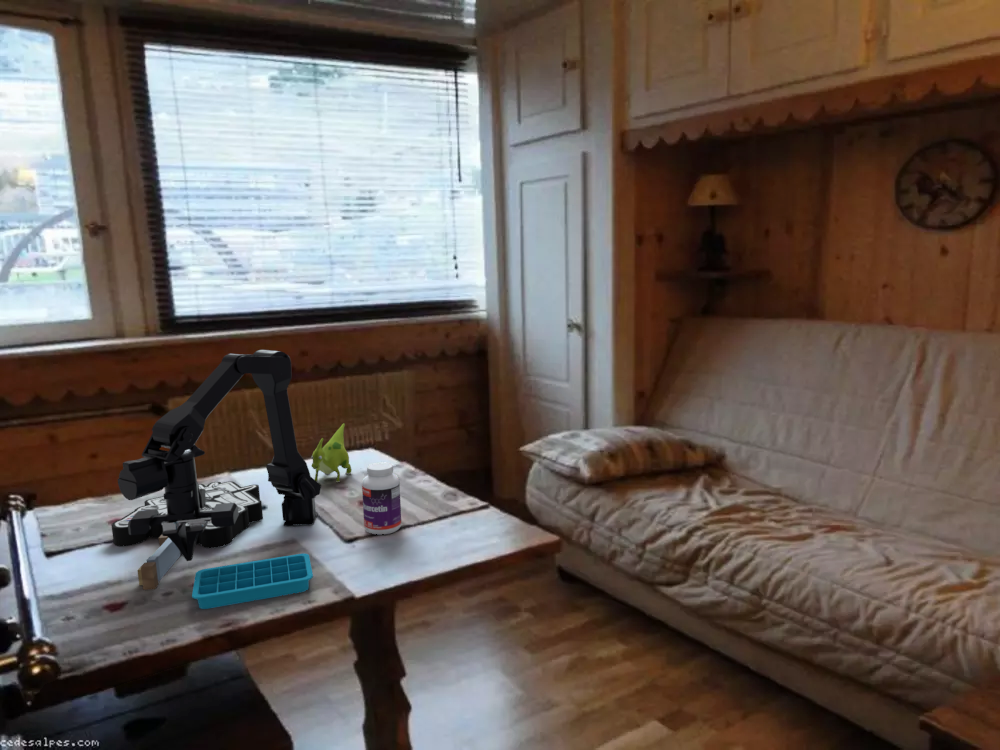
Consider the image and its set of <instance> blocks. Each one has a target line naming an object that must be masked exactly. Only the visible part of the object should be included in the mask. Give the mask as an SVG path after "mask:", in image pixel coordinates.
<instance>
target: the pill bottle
mask: <svg viewBox="0 0 1000 750" xmlns="http://www.w3.org/2000/svg"><path fill="white" fill-rule="evenodd" d="M366 472H367V474H366V475H365V477H363V479H362V481H361V489H362V490H361V491H362V492H361V493H362V507H363V508H362V511H363V527H364V529H365V531H366V532H367V533H369V534H371V533H372V534H371V535H376V534H377V536H378V535H379V536H381V535H382V534H384V535H389V534H392V533H395V532H397V531H398V530H399V529H401V526H402V507H401V505H402V504H401V487H400V486H401V485H400V484H401V483H400V478H399V477H398V475H397V474H396V473H393V472H394V464H393V463H392V462H385V461H381V462H373V463H370V464H368V465H367V467H366ZM382 536H383V535H382Z"/></svg>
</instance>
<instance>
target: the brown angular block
mask: <svg viewBox="0 0 1000 750" xmlns="http://www.w3.org/2000/svg"><path fill="white" fill-rule="evenodd" d="M168 538H169V537H168V536H162V535H161V536H160V537H159V538H158V544H159V545H158V546H159V547H160V546H161V545H162V544H163V543H164V542H165V541H166V540H167V539H168Z"/></svg>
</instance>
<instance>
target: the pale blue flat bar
mask: <svg viewBox="0 0 1000 750" xmlns="http://www.w3.org/2000/svg"><path fill="white" fill-rule="evenodd" d="M181 555H182V553H181V552H180V550H179V549H178V548H177V546H176V545H175V544H174V543H173V542H172V541H171V540H170V538H168V539H167V540H166V541H165V542H164V543H163V544H162V545H161V546H159V547H158V548H157V549H156V550H155V551H154V553H153V554H152V555H150V556H149V557H148V558H147V559H146V563H147V562H156V568H157V576H158V583H159V582H160V581H161V579H162V578H163V577H164V576H165V575H166V573H167V572H168V571H169V570H171V567H172V566H173V565H174V564H175V563H176V562H177V560H178V559H179V558H180V557H181Z"/></svg>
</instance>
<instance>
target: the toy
mask: <svg viewBox="0 0 1000 750" xmlns="http://www.w3.org/2000/svg"><path fill="white" fill-rule="evenodd" d="M345 425H346V424H345V423H342V424H341V426H340V427H339V428H338V429H337V430H336V431H335V433H334V434H333V435H332V437H330V439H329V440H328V441H327V442H326V443H325V444H324V445H323V441H324V438H323V437H321V439H320V440H319V442H318V444H317V446H316V448H315V450H313V452H312V455H311V457H310V458H311V460H312V463H311V468H312V469H313V470H315V475H314V480H315V481H317V482H318V483H319V480H318V478H319V472H321V473H323V474H326V475H330V474H332V473H334V472H335V473H336V474H337V475H336V476H337V477H336V481H335V483H336V482H340V477H341V472H340V470H339V467H341V468H342V469H346V471H345V475H347V474H348V475H351V473H352V470H353V469H352V467H351V464H350V457H349V456H350V455H349V453H348V452H347V450H346V448H345V440H344V439H345V438H344V433H345V431H344V430H345ZM340 483H341V482H340Z"/></svg>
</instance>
